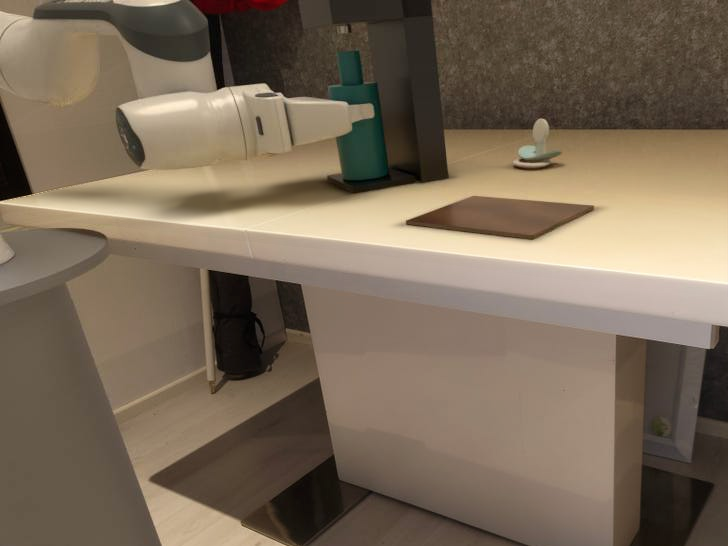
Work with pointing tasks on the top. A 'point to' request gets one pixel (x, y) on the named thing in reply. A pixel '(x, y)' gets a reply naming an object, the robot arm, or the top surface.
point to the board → (502, 216)
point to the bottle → (359, 123)
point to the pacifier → (537, 148)
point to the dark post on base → (395, 83)
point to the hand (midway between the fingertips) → (362, 108)
